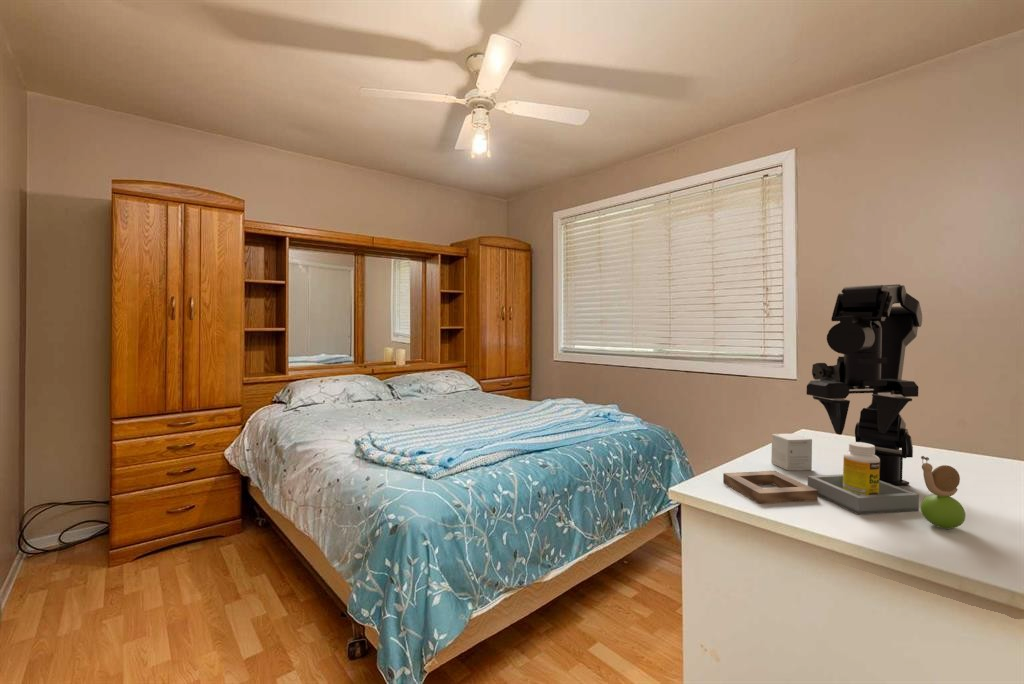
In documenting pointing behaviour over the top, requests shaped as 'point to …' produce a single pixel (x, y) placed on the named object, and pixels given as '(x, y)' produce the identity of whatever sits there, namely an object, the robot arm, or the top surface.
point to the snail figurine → (942, 496)
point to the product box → (791, 451)
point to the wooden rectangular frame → (786, 492)
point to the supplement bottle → (861, 469)
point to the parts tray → (865, 496)
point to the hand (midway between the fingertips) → (860, 433)
